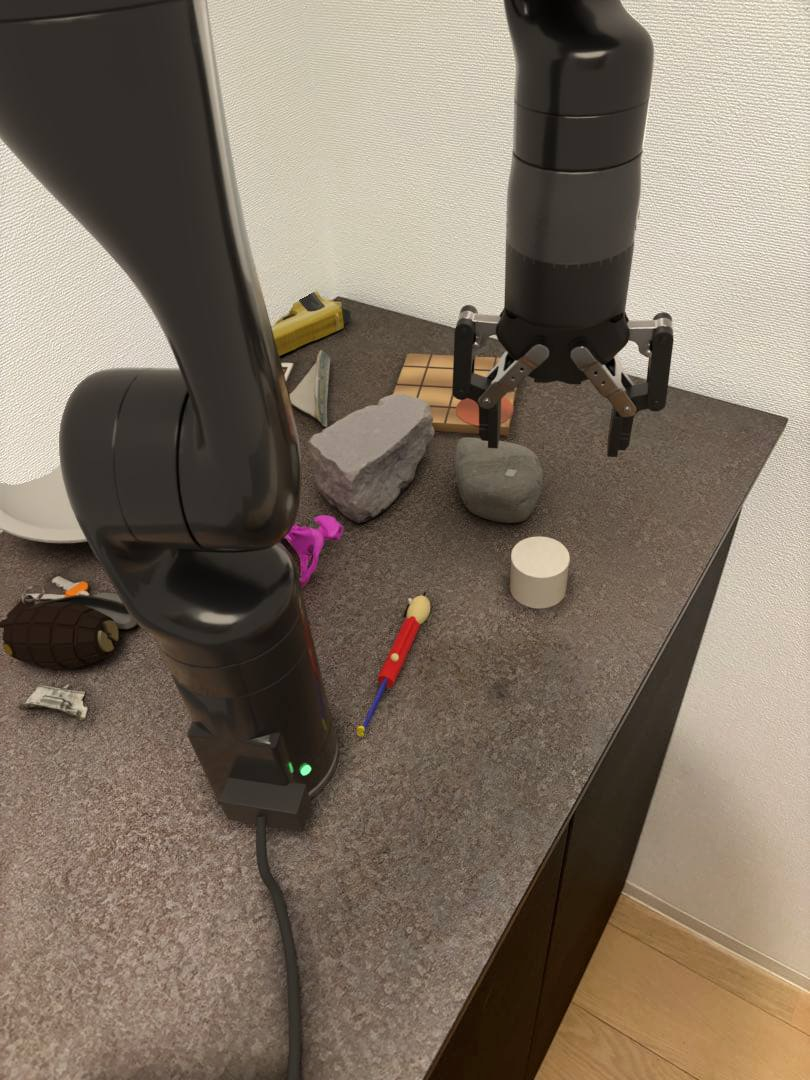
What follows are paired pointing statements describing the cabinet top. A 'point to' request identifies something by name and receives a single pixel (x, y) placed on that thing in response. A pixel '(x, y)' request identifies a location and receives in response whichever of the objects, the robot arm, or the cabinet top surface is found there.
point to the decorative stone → (371, 455)
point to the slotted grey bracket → (57, 700)
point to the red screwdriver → (399, 650)
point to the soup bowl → (39, 510)
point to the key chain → (80, 589)
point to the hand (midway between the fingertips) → (552, 445)
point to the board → (448, 392)
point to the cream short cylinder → (539, 572)
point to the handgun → (308, 322)
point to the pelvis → (313, 542)
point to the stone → (497, 479)
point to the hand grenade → (60, 630)
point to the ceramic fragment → (314, 390)
